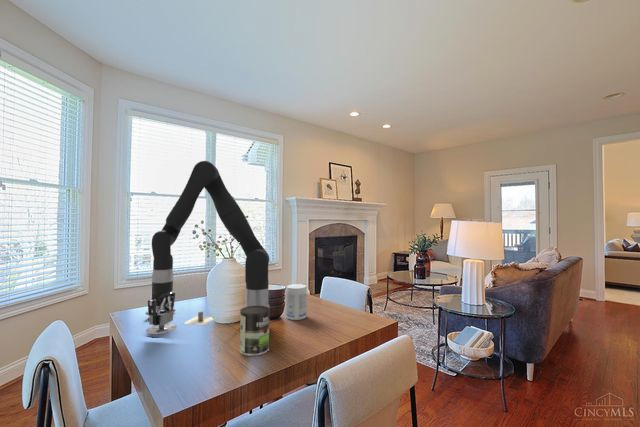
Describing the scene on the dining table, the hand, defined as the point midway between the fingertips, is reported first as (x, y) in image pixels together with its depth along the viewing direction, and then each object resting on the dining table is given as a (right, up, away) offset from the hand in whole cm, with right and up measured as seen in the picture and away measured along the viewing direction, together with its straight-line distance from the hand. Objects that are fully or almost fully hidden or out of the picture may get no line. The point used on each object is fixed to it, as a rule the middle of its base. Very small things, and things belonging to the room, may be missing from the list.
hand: (161, 322), depth 122 cm
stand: (+12, -4, +10) cm, 16 cm away
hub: (0, -4, 0) cm, 4 cm away
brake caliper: (-10, -5, +19) cm, 21 cm away
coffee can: (+40, -5, -15) cm, 43 cm away
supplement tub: (+52, -6, +21) cm, 57 cm away
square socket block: (0, 0, 0) cm, 0 cm away
